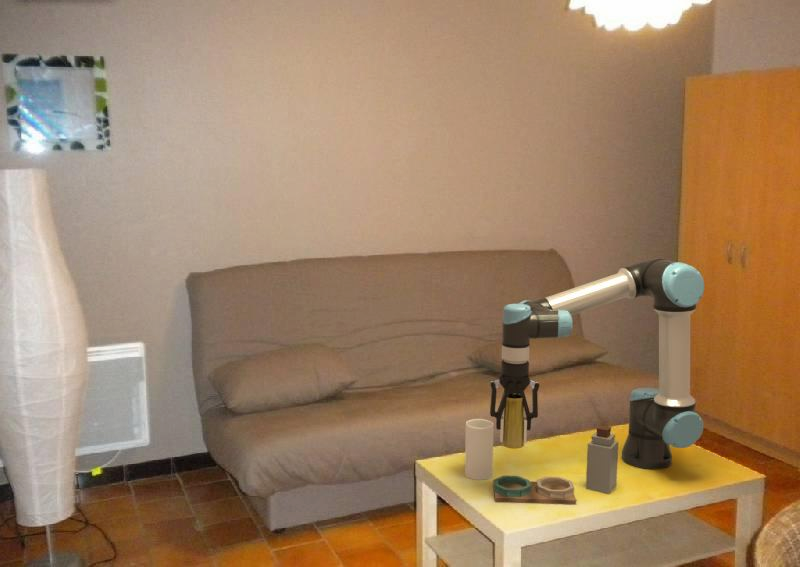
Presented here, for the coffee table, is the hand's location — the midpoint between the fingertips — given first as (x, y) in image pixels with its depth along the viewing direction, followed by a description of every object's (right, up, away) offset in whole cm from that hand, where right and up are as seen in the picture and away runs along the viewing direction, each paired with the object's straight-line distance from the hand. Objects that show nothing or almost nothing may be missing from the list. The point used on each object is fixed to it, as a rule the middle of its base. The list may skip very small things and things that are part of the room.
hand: (513, 440), depth 220 cm
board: (+6, -16, +2) cm, 17 cm away
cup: (-8, -14, +16) cm, 22 cm away
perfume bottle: (+26, -15, +7) cm, 31 cm away
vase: (0, -2, 0) cm, 2 cm away
